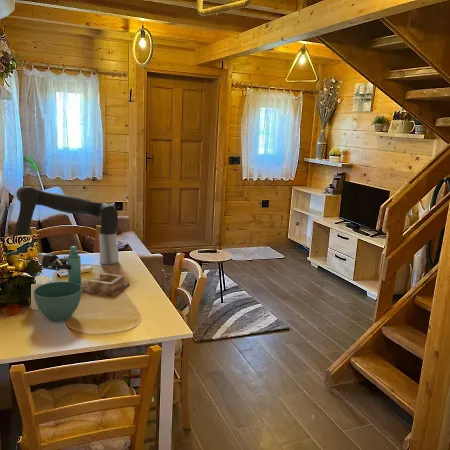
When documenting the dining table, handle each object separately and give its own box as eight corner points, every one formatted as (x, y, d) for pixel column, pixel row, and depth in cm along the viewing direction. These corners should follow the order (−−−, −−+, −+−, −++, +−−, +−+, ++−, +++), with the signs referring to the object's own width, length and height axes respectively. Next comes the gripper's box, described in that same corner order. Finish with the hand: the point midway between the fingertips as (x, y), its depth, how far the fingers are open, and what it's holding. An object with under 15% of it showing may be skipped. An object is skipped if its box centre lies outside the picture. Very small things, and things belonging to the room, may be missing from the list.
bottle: (75, 281, 227) (74, 244, 223) (83, 284, 224) (82, 246, 220) (65, 284, 222) (64, 246, 218) (73, 287, 219) (72, 249, 215)
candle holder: (48, 311, 191) (46, 284, 189) (24, 310, 191) (23, 283, 189) (56, 302, 201) (55, 276, 198) (34, 301, 201) (33, 275, 198)
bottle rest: (82, 292, 214) (82, 281, 212) (100, 281, 229) (99, 271, 228) (114, 296, 210) (113, 285, 209) (129, 285, 225) (129, 275, 224)
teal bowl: (25, 320, 183) (23, 291, 180) (60, 305, 198) (59, 278, 196) (57, 331, 174) (56, 301, 172) (92, 314, 190) (91, 286, 188)
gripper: (36, 257, 217) (66, 261, 213) (54, 250, 230) (83, 253, 227) (37, 272, 219) (67, 276, 215) (55, 264, 232) (83, 267, 228)
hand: (75, 264), depth 221 cm, fingers open, 8 cm apart
